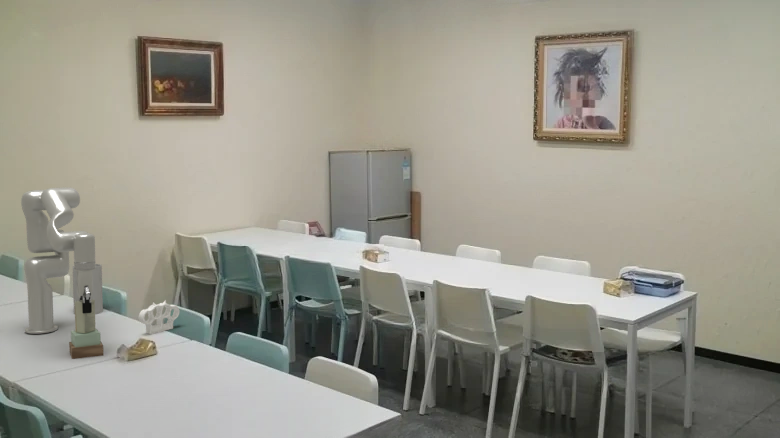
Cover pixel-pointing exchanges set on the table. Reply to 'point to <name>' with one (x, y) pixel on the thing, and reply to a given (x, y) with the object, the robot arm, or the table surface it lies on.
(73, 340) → the tower top block
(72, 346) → the tower base block
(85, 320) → the skincare box
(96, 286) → the cylinder vase
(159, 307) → the white brass knuckles
